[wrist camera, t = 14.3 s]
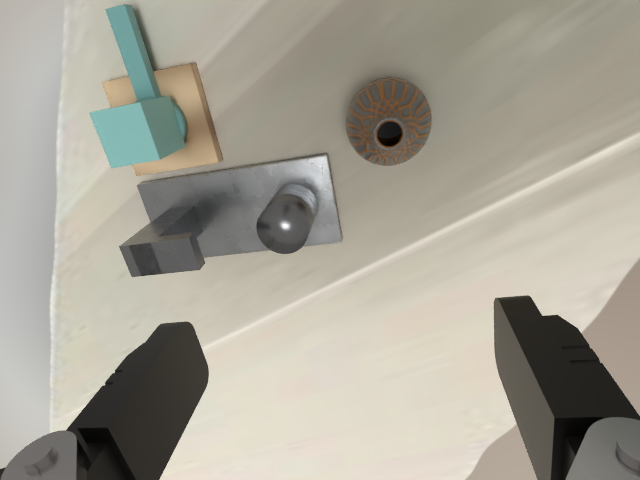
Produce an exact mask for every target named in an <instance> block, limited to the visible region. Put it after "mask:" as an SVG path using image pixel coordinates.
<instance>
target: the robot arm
mask: <svg viewBox="0 0 640 480" xmlns="http://www.w3.org/2000/svg"><path fill="white" fill-rule="evenodd" d="M494 345H495V358H496V364H497V369H498V373H499V376H500V379H501V381H502V384H503V387H504V389H505V392H506V395H507V398H508V400H509V403H510V406H511V409H512V411H513V414H514V417H515V419H516V422H517V425H518V427H519V430H520V433H521V436H522V438H523V441H524V444H525V447H526V449H527V452H528V455H529V457H530V460H531V463H532V466H533V468H534V471H535V474H536V476H537V479H538V480H640V416H639V415H638V413H637V412H636V410H635V409H634V407H633V406H632V405H631V404H630V402H629V401H628V399H627V398H626V397H625V395H624V393H623V392H622V391H621V389H620V388H619V386H618V385H617V383H616V382H615V381H614V379H613V378H612V376H611V375H610V374H609V372H608V371H607V369H606V368H605V367H604V365H603V364H602V363H600V361H599V358H598V357H597V355H596V354H595V352H594V351H593V350H592V349H590V347H589V344H588V343H587V341H586V340H585V338H584V337H583V335H582V334H581V333H580V331H579V330H578V328H576V327H575V326H573V325H572V324H570V323H569V322H567V321H566V320H564V319H563V318H561V317H560V316H558V315H551V316H542V315H541V313H540V311H539V310H538V308H537V306H536V305H535V303H534V301H533V300H532V298H531V297H530V296H515V297H502V298H495V300H494ZM208 377H209V371H208V365H207V362H206V359H205V356H204V354H203V351H202V348H201V346H200V343H199V340H198V338H197V335H196V332H195V330H194V327H193V326H192V324H191V323H189V322H176V323H164V324H160V325H159V326H158V327H157V328H156V330H155V331H154V332H153V333H152V335H151V336H150V337H149V338H148V340H147V341H146V342H145V343H143V344H142V345H141V346H139V347H138V348H137V349H135V350H134V351H133V352H132V353H130V354H129V355H128V356H127V357H126V358H125V359H124V360H123V361H122V363H121V364H120V365H119V366H118V368H117V369H116V370H115V373H113V374H112V375H111V376H110V377H109V379H108V380H107V381H106V382H105V386H102V387H101V388H100V390H99V391H98V392H97V393H96V394H95V396H94V397H93V398H92V399H91V401H90V402H89V403H88V404H87V405H86V407H85V408H84V409H83V410H82V412H81V413H80V414H79V415H78V416H77V418H76V419H75V420H74V421H73V422H72V424H71V425H70V426H69V427H68V429H67V430H66V431H57V432H53V433H50V434H47V435H45V436H43V437H41V438H39V439H37V440H35V441H34V442H32V443H30V444H29V445H28V446H26V447H25V448H24V449H22V450H21V451H20V452H19V453H18V454H17V455H16V456H15V457H14V458H13V459H12V460H11V461H10V462H9V464H8V465H7V467H6V468H3V469H0V480H159V479H160V477H161V475H162V473H163V471H164V469H165V467H166V465H167V463H168V461H169V459H170V457H171V455H172V453H173V451H174V449H175V448H176V446H177V444H178V442H179V440H180V438H181V436H182V434H183V432H184V430H185V428H186V426H187V424H188V422H189V420H190V418H191V416H192V414H193V412H194V410H195V408H196V406H197V404H198V402H199V400H200V399H201V397H202V395H203V393H204V391H205V389H206V386H207V383H208Z"/></svg>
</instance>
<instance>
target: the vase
mask: <svg viewBox="0 0 640 480" xmlns="http://www.w3.org/2000/svg"><path fill="white" fill-rule="evenodd" d="M431 121H432V120H431V110H430V107H429V104H428V102H427V100H426V98H425V96H424V95H423V93H422V92H421V91H420V90H419V89H418V88H417V87H416V86H414V85H413V84H411V83H410V82H408V81H405V80H402V79H398V78H383V79H379V80H376V81H374V82H371V83H370V84H368V85H366V86H365V87H364V88H362V89H361V90H360V91H359V92H358V94H357V95H356V96H355V98H354V99H353V101H352V102H351V105H350V107H349V110H348V114H347V120H346V128H347V134H348V137H349V140H350V142H351V144H352V146H353V148H354V149H355V150H356V152H357V153H358V154H359V155H360V156H361V157H363V158H364V159H366V160H367V161H369V162H371V163H374V164H377V165H384V166H390V165H397V164H400V163H403V162H405V161H407V160H409V159H411V158H412V157H413V156H415V155H416V154H417V153H418V152H419V151H420V150H421V148H422V147H423V146H424V144H425V142H426V141H427V139H428V136H429V133H430V129H431Z"/></svg>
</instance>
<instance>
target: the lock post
mask: <svg viewBox="0 0 640 480" xmlns="http://www.w3.org/2000/svg"><path fill="white" fill-rule="evenodd" d="M137 187H138V190H139V193H140V195H141V198H142V200H143V203H144V206H145V208H146V211H147V214H148V216H149V219H150V222H151V223H149V224H148V225H147V226H145V227H144V228H143V229H141V230H140V231H139V232H138V233H136V234H135V235H134V236H132V237H131V238H130V239H128V240H127V241H126V242H124V243H123V244H122V245H120V246H119V247H120V250H121V252H122V255H123V257H124V259H125V262H126V264H127V266H128V269H129V271H130V274H131V276H132V277H136V276H146V275H155V274H165V273H174V272H184V271H193V270H200V269H201V268H202V266H203V265H204V264H205V261H204V257H213V256H222V255H231V254H240V253H249V252H258V251H267V250H272V251H274V252H277V253H281V254H289V253H293V252H295V251H297V250H299V249H300V248H302V247H303V246H312V245H321V244H330V243H339V242H342V233H341V227H340V222H339V216H338V210H337V205H336V199H335V194H334V188H333V182H332V177H331V171H330V165H329V160H328V154H321V155H314V156H308V157H301V158H295V159H289V160H282V161H276V162H269V163H263V164H256V165H250V166H244V167H237V168H231V169H224V170H218V171H211V172H205V173H199V174H192V175H186V176H179V177H173V178H166V179H160V180H153V181H147V182H141V183H140V184H138V185H137Z"/></svg>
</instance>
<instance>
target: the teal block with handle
mask: <svg viewBox="0 0 640 480" xmlns="http://www.w3.org/2000/svg"><path fill="white" fill-rule="evenodd" d="M105 10H106V12H107V15H108V18H109V21H110V24H111V27H112V29H113V32H114V35H115V38H116V41H117V44H118V47H119V49H120V52H121V55H122V58H123V61H124V64H125V67H126V69H127V72H128V75H129V78H130V81H131V84H132V86H133V89H134V92H135V95H136V98H137V101H136V102H135V103H131V104H126V105H122V106H117V107H113V108H108V109H104V110H99V111H95V112H90V116H91V118H92V121H93V123H94V126H95V128H96V131H97V133H98V136H99V138H100V141H101V143H102V146H103V148H104V151H105V153H106V156H107V158H108V161H109V163H110V166H111V168H115V167H121V166H127V165H133V164H138V163H144V162H150V161H156V160H161V159H163V158H165V157H167V156H169V155H170V154H172V153H174V152H176V151H178V150H180V149H182V148H184V147H186V146H185V143H184V141H185V139H186V137H187V133H188V124H187V120H186V117H185V114H184V112H183V111H182V109H181V108H180V107H179V106H178V105H177V104H176V103H175V102H174V101H173V100H171V99H170V96H161V94H160V91H159V88H158V85H157V82H156V79H155V76H154V72H153V69H152V66H151V63H150V60H149V57H148V54H147V51H146V48H145V45H144V42H143V39H142V36H141V33H140V30H139V27H138V24H137V21H136V17H135V14H134V11H133V8H132V6H131V5H125V4H124V5H120V6H116V7H113V8H109V9H105Z"/></svg>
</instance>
